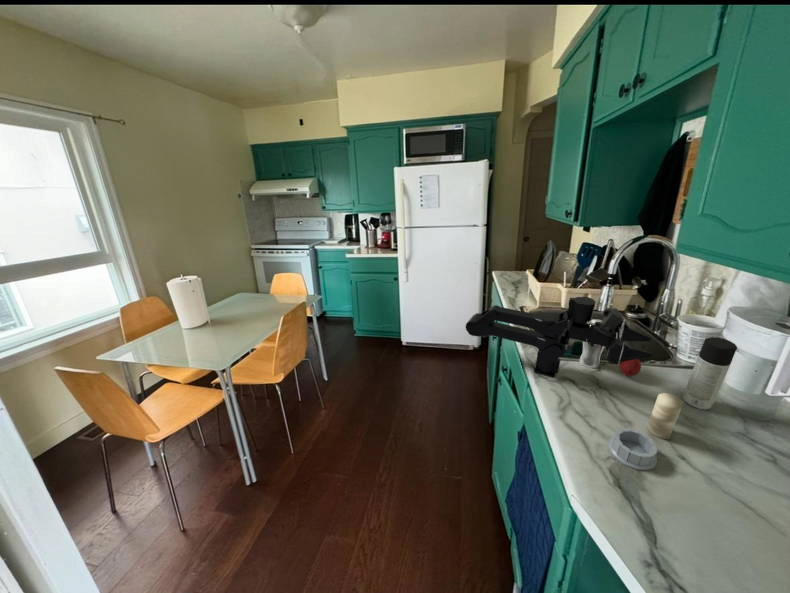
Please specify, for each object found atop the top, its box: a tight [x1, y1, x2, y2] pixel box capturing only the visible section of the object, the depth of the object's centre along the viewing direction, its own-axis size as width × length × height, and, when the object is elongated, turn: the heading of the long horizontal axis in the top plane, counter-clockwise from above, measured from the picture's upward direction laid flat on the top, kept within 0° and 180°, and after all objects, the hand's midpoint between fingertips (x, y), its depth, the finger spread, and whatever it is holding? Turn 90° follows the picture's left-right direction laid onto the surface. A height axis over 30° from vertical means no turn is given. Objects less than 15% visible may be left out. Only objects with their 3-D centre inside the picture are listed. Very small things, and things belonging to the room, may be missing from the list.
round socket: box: [607, 427, 658, 471], centre depth 86 cm, size 10×10×4 cm
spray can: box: [682, 336, 738, 410], centre depth 98 cm, size 7×7×20 cm
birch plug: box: [646, 392, 684, 440], centre depth 90 cm, size 5×5×10 cm
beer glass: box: [579, 318, 605, 369], centre depth 117 cm, size 7×7×15 cm
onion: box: [618, 359, 642, 377], centre depth 112 cm, size 6×6×8 cm
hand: (651, 346), depth 99 cm, fingers open, 9 cm apart
